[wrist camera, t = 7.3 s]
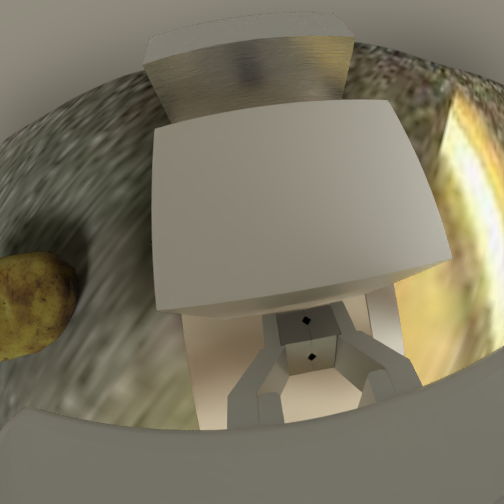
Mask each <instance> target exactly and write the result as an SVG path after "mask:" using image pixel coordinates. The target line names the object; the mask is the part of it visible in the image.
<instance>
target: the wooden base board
mask: <svg viewBox="0 0 504 504" xmlns="http://www.w3.org/2000/svg"><path fill="white" fill-rule="evenodd" d="M340 301H342V302H344V305H345V307H346V309H347V311H348V313H349V315H350V318H351V320H352V322H353V324H354V326H355V329H356V331H359V330H361V331H362V332H364V333H366V334H367V335H369V336H371V337H373V338H374V339H376V340H378V341H379V342H381V343H383V344H384V345H386V346H388V347H389V348H391V349H393V350H394V351H396V352H398V353H399V354H401V355H403V356H405V355H404V346H403V338H402V331H401V324H400V317H399V311H398V305H397V300H396V295H395V289H394V284H393V283H392V284H390V285H387V286H385V287H382V288H379V289H377V290H374V291H371V292H369V293H366V294H363V295H360V296H358V297H354V298H349V299H345V300H340ZM335 302H338V301H335ZM330 303H334V302H330ZM325 304H329V303H324V304H319V305H314V306H320V305H325ZM314 306H308V307H303V308H297V309H291V310H285V311H292V310H298V309H304V308H309V307H314ZM285 311H279V312H285ZM273 313H275V314H276V313H278V312H273ZM273 313H267V314H273ZM262 315H265V314H260V315H254V316H247V317H239V318H232V319H220V318H210V317H201V316H193V315H185V314H182V322H183V330H184V338H185V345H186V352H187V359H188V365H189V372H190V378H191V384H192V390H193V395H194V401H195V406H196V411H197V416H198V421H199V426H200V430H221V429H227V396H228V395H229V394H230V392H231V391H232V389H233V388H234V387H235V385H236V384H237V382H238V381H239V380H240V378H241V377H242V375H243V374H244V372H245V371H246V370H247V368H248V367H249V365H250V364H251V362H252V361H253V359H254V358H255V357H256V355H257V354H258V352H259V351H260V349H265V348H264V338H263V328H262ZM361 396H362V392H361V391H360V390H359V389H357V388H356V387H355V386H354V385H353V384H352V383H351V382H349V381H348V380H347V379H346V378H345V377H344V376H342V375H341V374H340V373H339V372H338V371H337V370H336V369H335V367H334V368H329V369H324V370H318V371H312V372H308V373H303V374H298V375H293V376H289V379H288V381H287V384H286V386H285V388H284V390H283V392H282V394H281V396H280V397H281V403H282V409H283V415H284V421H285V423H291V422H297V421H303V420H308V419H313V418H318V417H323V416H328V415H332V414H337V413H341V412H345V411H349V410H353V409H356V408H358V405H359V402H360V399H361Z"/></svg>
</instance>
